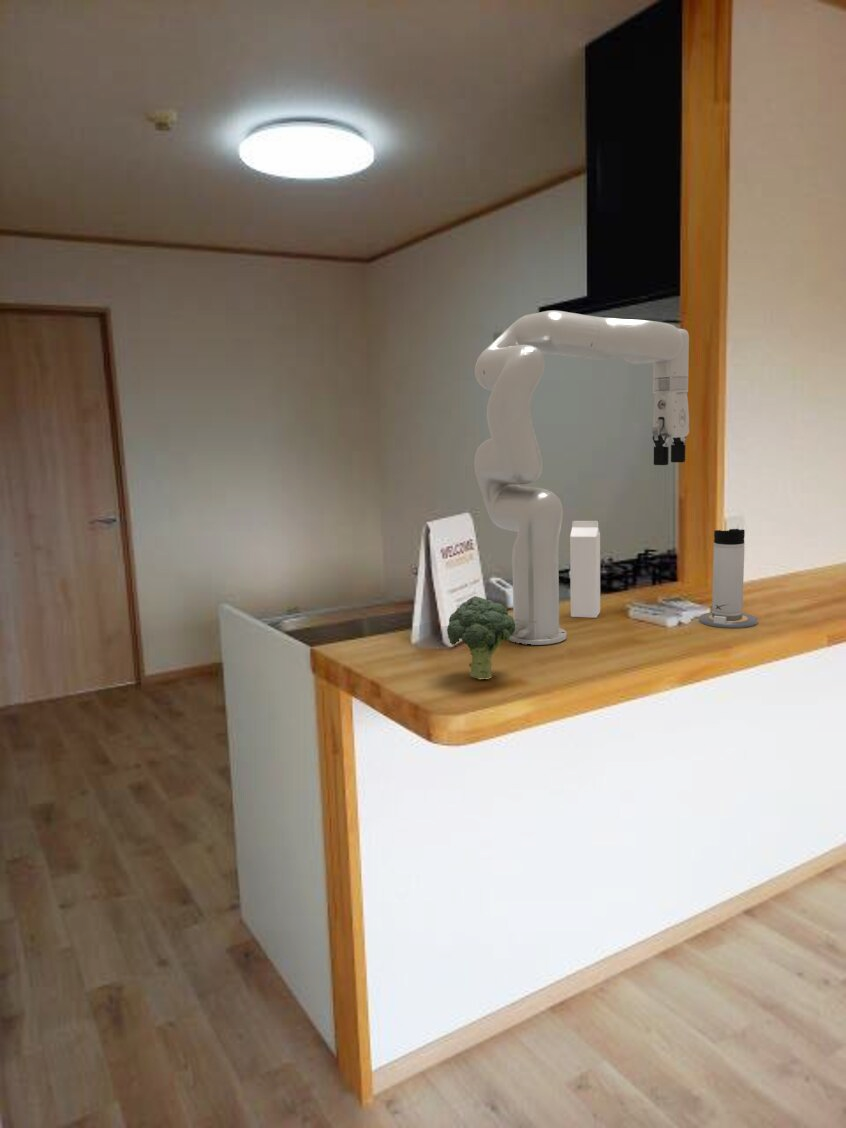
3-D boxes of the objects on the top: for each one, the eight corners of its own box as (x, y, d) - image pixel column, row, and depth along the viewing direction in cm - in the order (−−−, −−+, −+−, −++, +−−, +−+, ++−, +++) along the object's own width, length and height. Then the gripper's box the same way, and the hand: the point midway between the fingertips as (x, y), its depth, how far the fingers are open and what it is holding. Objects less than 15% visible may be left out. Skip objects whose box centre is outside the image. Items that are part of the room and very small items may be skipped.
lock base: (747, 630, 176) (747, 620, 176) (691, 624, 184) (691, 614, 183) (764, 619, 185) (765, 609, 185) (710, 612, 193) (710, 603, 192)
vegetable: (513, 667, 157) (512, 588, 154) (518, 689, 144) (517, 603, 142) (448, 669, 157) (446, 590, 155) (448, 690, 145) (445, 606, 142)
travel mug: (718, 622, 181) (720, 530, 177) (708, 614, 187) (709, 525, 184) (747, 621, 181) (750, 528, 177) (736, 613, 187) (738, 524, 184)
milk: (596, 618, 192) (596, 522, 188) (570, 617, 194) (569, 522, 190) (600, 612, 198) (600, 519, 194) (574, 610, 200) (574, 518, 196)
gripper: (671, 385, 178) (670, 466, 181) (701, 385, 192) (699, 461, 195) (638, 387, 183) (637, 466, 186) (669, 387, 196) (668, 461, 199)
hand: (669, 463), depth 190 cm, fingers open, 9 cm apart
